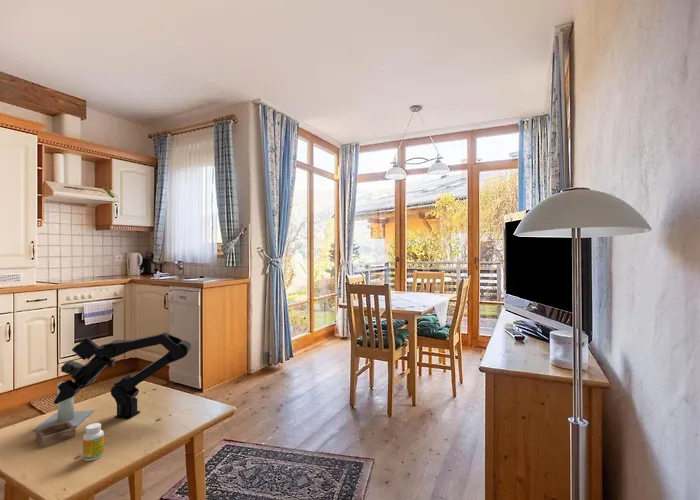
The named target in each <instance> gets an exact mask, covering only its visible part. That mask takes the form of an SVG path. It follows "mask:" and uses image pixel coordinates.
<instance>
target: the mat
mask: <svg viewBox="0 0 700 500" xmlns="http://www.w3.org/2000/svg"><path fill="white" fill-rule="evenodd" d="M94 412H95V409H91V410H78V411H74V418H73V419H72V420H70V421H68V422H69V423H70V424H71V425H72V426H74V427H75V428H77V427H79V426H80V425H81V424H82V423H83V422H84V421H86V419H87V418H89V417H90V416H91V415H92V414H93V413H94ZM59 423H62V422H58V421H57V412H55V413H53V414H51V416H49V417H48V418H47V419H45V420H44V421H42V422H41V423H40V424H39V425H37V426H36V427H35V428H33V429H32V431H33V432H36V430H38V429H41V428H45V427H48V426H52V425H55V424H59Z"/></svg>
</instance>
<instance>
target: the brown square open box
mask: <svg viewBox="0 0 700 500" xmlns="http://www.w3.org/2000/svg"><path fill="white" fill-rule="evenodd" d="M74 438H76V427H74V426H72V425H71V424H70V423H69V422H68V421H65V422H62V423H59V424H55V425H52V426H48V427H45V428H41V429H38V430H36V431H35V439H36V441H37V442H38V443H39V444H40V446H41V448H45V447H48V446H51V445H54V444H57V443H60V442H64V441H67V440H70V439H74Z"/></svg>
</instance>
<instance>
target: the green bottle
mask: <svg viewBox="0 0 700 500" xmlns="http://www.w3.org/2000/svg"><path fill="white" fill-rule="evenodd" d="M64 381H65V380H64ZM64 381H61V382H60V381H59V382H58V383H56V387H57V388H56V389H57V392H56V395H57V396H58V394H59V393H60V390H59V389H58V386H59V385H60V384H61V383H62V382H64ZM72 381H73V382H74V383H75V380H72ZM57 396H56V397H57ZM74 402H75V395H74V396H73V397H72V398H69V399H67V400H64V401H62V402H60V403H58V404H56V405H57V408H56V409H57V410H56V411H57V412H56V413H57V421H58V422H65V421H70V420H72V419H73V418H74V412H75V403H74Z"/></svg>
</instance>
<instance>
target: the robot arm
mask: <svg viewBox="0 0 700 500" xmlns="http://www.w3.org/2000/svg"><path fill="white" fill-rule="evenodd" d="M157 345H161V346H163V347H164V348H165V349H166V350H167V351H168V352H166V353H165V354H164V355H163V356H161V357H159V358H158V359H156V360H155V361H153V362H152V363H151V364H150V363H149V365H148V366H146V367H144V368H143V369H142V370H140V371H138V372H137V373H135V374H132V375H131V373H130V372H129V373H128V374H126V375H125V376H124V377H121V378H119V379H118V380H117V381H116V382H114V384H113V386H112V387H111V389H110V395H111V397H112V398H113V399H114V400H115V403H116V415H114V416H113V417H114V418H115V419H126V420H129V419H131V418H132V417H134V416H137V415H138V414H140V413H141V410H138V398H137V396H138V395H139V392H140V389H139V388H137V387H136V386H138V385H139V384H140V383H142V382H143V381H145V380H147V379H148V378H149V377H151V376H153V375H154V374H155V373H157V372H159V371H160V370H162V369H163V368H164V367H166V366H167V365H169V364H171V363H174V362H176V361H178V360H181V359H183V358H185V357H186V356H187V355H188V354H189V353H190V351H191V349H192V344H191V343H190V342H189V341H187V340H184V339H183V340H182V339H181V338H179V337H177V336H174V335H172V334H170V333H168V332H161V333H158V334H154V335H153V334H152V335H149V336H144V337H139V338H135V339H115V340H112V341H110V342H108V343H106V344H101V345H100V346H99V345H98V344H96V342H94V341H93V340H92V338H90V337H86V338H84V340H82V341H81V342H79V343H78V344H76V345H75V346H74V347H73V348H72V349H71V352H73V353H74V354H76V355H77V356H78V357H79V358H81V359H82V360H83V361H86V360H87V361H88V362H87V363H86V364H82V363H81V362H77V361H75V360H68V361H66V362H64V364H63V365H62V366H61V367H60V369H61V370H60V372H61V373H63V374H64V373H65V374H69V375H71V378H72V379H73V380H72V379H66V380H64V382H63V381H61V382H62V383H61V384H60V385H59V386H58V389H59V390H60V393H59V394H58V396H56V398H55V400H53V404H54V405H57V404H58V403H60V402H62V401H64V400H67V399H69V398H72V397H73V396H74V397H75V396H76V395H77V394H78V393H79V392H80V391H81V390H82V389H84V388H85V387H88V386H89V385H91V384H93V382H95V381H96V380H97V379H98V376H99V374H100V373H101V372H102V371H103V370H104V369H105V368H106V367H107V366H108V367H109V368H113V367H114V366H115V365H116V359H115V358H116V357H119V356H121V355H124V354H125V353H128V352H131V351H134V350H139V349H144V348H147V347H154V346H157ZM91 358H92V359H91ZM73 381H74V382H73Z"/></svg>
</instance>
